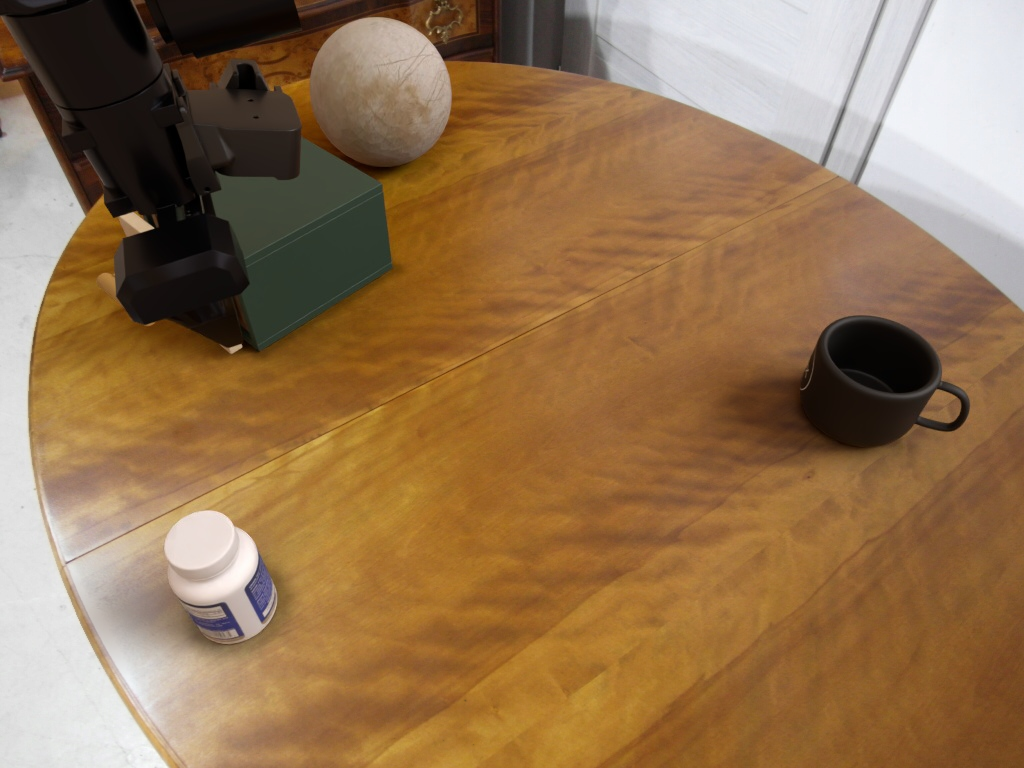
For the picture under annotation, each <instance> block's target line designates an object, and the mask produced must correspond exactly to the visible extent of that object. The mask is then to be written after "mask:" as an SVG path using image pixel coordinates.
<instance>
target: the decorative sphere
mask: <svg viewBox="0 0 1024 768" xmlns="http://www.w3.org/2000/svg"><path fill="white" fill-rule="evenodd" d="M451 83H452V82H451V78H450V74H449V72H448V68H447V65H446V62H445V61H444V59H443V57H442V56H441V54H440V52H439V50H438V49H437V48H436V46H435V45H434V44H433V43H432V42H431V41H430V39H428V38H427V37H426V35H424V34H423V33H422V32H420V31H419V30H418V29H416V28H415V27H413V26H411V25H409V24H407V23H405V22H403V21H400V20H397V19H393V18H389V17H382V16H374V17H373V16H371V17H364V18H359V19H356V20H353V21H350V22H348V23H347V24H344V25H343V26H341V27H340V28H338V29H337V30H336V31H334V32H333V33H332V34H331V35H330V36H329V37H328V38H327V39H326V41H324V43H323V44H322V46H321V47H320V49H319V50H318V52H317V54H316V56H315V59H314V61H313V63H312V68H311V71H310V77H309V97H310V98H309V100H310V105H311V108H312V112H313V115H314V118H315V120H316V122H317V124H318V127H319V128H320V130H321V131H322V133H323V135H324V136H325V137H326V138H327V140H328V141H329V142H330V144H332V145H333V146H334V148H336V149H337V150H339V152H341V153H342V154H344V155H345V156H347V157H348V158H351V159H352V160H354V161H356V162H358V163H361V164H364V165H367V166H371V167H379V168H390V167H391V168H392V167H397V166H402V165H405V164H408V163H411V162H413V161H415V160H417V159H418V158H420V157H422V156H423V155H425V154H426V153H427V152H428V151H430V149H431V148H433V147H434V146H435V144H436V143H437V142H438V140H439V139H440V138H441V136H442V135H443V133H444V131H445V128H446V126H447V124H448V121H449V118H450V116H451V115H450V114H451V111H452V110H451V109H452V102H453V101H452V99H453V95H452V84H451Z"/></svg>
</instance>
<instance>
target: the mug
mask: <svg viewBox="0 0 1024 768" xmlns="http://www.w3.org/2000/svg"><path fill="white" fill-rule="evenodd" d="M942 367H943V366H942V362H941V359H940V357H939V355H938V353H937V351H936V350H935V348H934V347H933V346H932V345H931V344H930V342H928V341H927V339H925V338H924V337H923V336H922V335H921V334H919V333H918V332H916V331H915V330H914V329H912V328H910V327H908V326H906V325H904V324H902V323H900V322H897V321H894V320H892V319H889V318H886V317H881V316H875V315H869V314H868V315H866V314H857V315H856V314H855V315H848V316H844V317H840V318H839V319H836V320H834V321H833V322H831V323H829V324H828V325H826V327H825V328H824V329H823V330H822V332H821V333H820V335H819V336H818V339H817V341H816V343H815V346H814V348H813V351H812V353H811V355H810V357H809V360H808V362H807V364H806V367H805V369H804V371H803V373H802V376H801V379H800V384H799V396H800V401H801V407H802V408H803V410H804V413H805V414H806V416H807V418H808V420H809V421H810V423H812V424H813V425H814V426H815V428H817V429H818V430H820V431H821V432H822V433H824V435H826V436H828V437H830V438H832V439H833V440H836V441H838V442H840V443H842V444H845V445H850V446H854V447H859V448H876V447H881V446H884V445H888V444H891V443H892V442H895V441H897V440H899V439H900V438H902V437H903V436H905V435H906V434H907V433H908V432H910V431H911V429H912V428H913V427H914V425H917V426H920V427H923V428H926V429H930V430H933V431H937V432H943V433H951V432H954V431H957V430H958V429H959V428H961V427H962V426H963V425H964V424H965V422H966V421H967V419H968V418H969V417H968V416H969V414H970V410H971V400H970V398H969V395H968V393H967V392H966V391H965V389H963V388H961V387H960V386H958V385H956V384H954V383H951V382H949V381H946V380H945V381H944V380H942V378H943V377H942V376H943V368H942ZM937 390H939V391H941V392H946V393H947V394H950V395H952V396H953V397H954V396H955V397H956V398H957V399H958V400H959V401H960V411H959V413H958V415H957V417H956V418H955V419H954V420H953V421H951V422H943V421H938V420H934V419H930V418H927V417H924V416H922V415H921V414H922V413H923V410H924V409H925V407H926V406H927V404H928V403H929V401H930V400H931V398H932V397H933V395H934V394H935V392H936V391H937Z"/></svg>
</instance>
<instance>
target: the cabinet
mask: <svg viewBox="0 0 1024 768" xmlns="http://www.w3.org/2000/svg"><path fill="white" fill-rule="evenodd" d="M215 172H216V171H215ZM216 174H217V176H218V178H219V180H220V183H221V188H222V190H220V191H217V192H213V193H211V196H212V200H213V204H214V209H215V213H216V217H219V218H221V219H224V220H227V221H229V222H230V224H231V227H232V229H233V231H234V233H235V235H236V237H237V240H238V242H239V245H240V247H241V250H242V252H243V255H244V260H245V264H246V268H247V273H248V277H249V281H250V285H249V286H248V287H247V288H246V289H245V290H244V291H243V292H242V293H241V294H239V295H237V296H238V299H239V302H240V305H241V308H242V311H243V315H244V318H245V321H246V324H247V327H248V330H249V332H248V331H247V330H246V329H245V328H243V327H242V326H241V325H240V328H241V332H242V336H243V340H244V342H247V343H248V344H249V345H250V346H252V348H254V349H255V350H256V351H258V352H259V353H260V352H262V351H263V350H265V349H266V348H268V347H269V346H271V345H272V344H274V343H276V342H278V341H279V340H281V339H283V337H285V336H288V334H290V333H292V332H293V331H295V330H296V329H299V328H300V327H301V326H303V325H305V324H306V323H308V322H309V321H311V320H313V319H314V318H317V316H319V315H321V314H322V313H324V312H326V311H327V310H328V309H331V308H332V307H333V306H335V305H337V304H338V303H340V302H342V301H343V300H345V299H346V298H348V297H350V296H351V295H352V294H354V293H356V292H357V291H359V290H360V289H362V288H364V287H365V286H367V285H369V284H370V283H372V282H373V281H375V280H376V279H378V278H380V277H382V276H383V275H384V274H386V273H388V272H390V271H391V270H392V269H394V267H393V259H392V252H391V250H392V249H391V242H390V234H389V227H388V220H387V219H388V218H387V212H386V211H387V210H386V204H385V195H384V188H383V183H382V182H380V181H379V180H377V179H375V178H374V177H372V176H371V175H369V174H366V173H365V172H364V171H361V170H360V169H358V168H357V167H355V166H353V165H351V164H349V163H348V162H347V161H344V160H343V159H341V158H339V157H337V156H336V155H334V154H332V153H331V152H329V151H327V150H325V149H324V148H322V147H320V146H318V145H317V144H315V143H313V142H312V141H310V140H308V139H306V138H305V137H303V136H301V153H300V174H299V176H298V177H296V178H294V179H291V180H277V179H276V178H275V177H230V176H225V175H221V174H219V173H218V172H216ZM156 215H157V214H156ZM142 219H143V220H144V221H146V222H147V223H148V224H150V225H151V226H152V227H154V228H156V225H155V223H154V220H153V218H152V215H142Z"/></svg>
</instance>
